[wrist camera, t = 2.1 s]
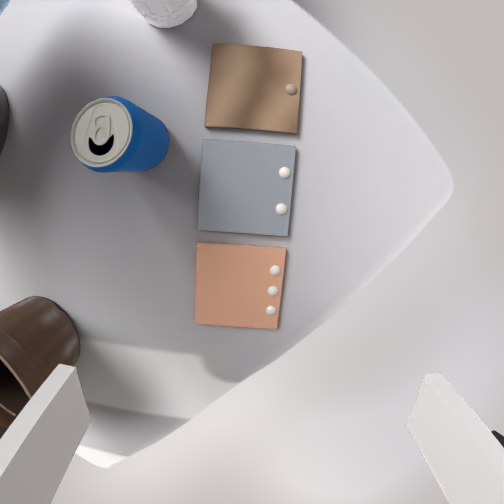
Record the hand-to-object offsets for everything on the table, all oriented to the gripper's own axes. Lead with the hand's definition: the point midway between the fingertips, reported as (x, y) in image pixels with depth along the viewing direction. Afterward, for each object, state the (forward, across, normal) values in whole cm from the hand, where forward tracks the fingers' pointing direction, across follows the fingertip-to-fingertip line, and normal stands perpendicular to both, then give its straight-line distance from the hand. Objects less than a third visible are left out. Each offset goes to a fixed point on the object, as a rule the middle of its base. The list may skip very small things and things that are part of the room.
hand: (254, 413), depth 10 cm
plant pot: (+27, -29, -14) cm, 42 cm away
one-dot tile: (+27, 0, +18) cm, 32 cm away
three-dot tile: (+27, 0, -5) cm, 27 cm away
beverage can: (+27, -12, +11) cm, 32 cm away
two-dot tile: (+27, 0, +6) cm, 28 cm away
